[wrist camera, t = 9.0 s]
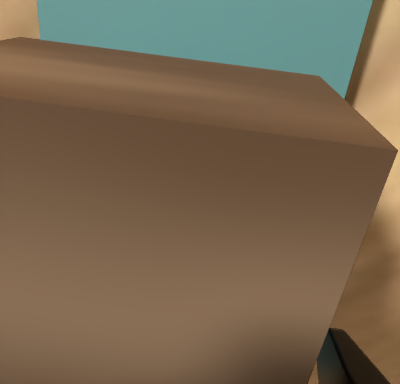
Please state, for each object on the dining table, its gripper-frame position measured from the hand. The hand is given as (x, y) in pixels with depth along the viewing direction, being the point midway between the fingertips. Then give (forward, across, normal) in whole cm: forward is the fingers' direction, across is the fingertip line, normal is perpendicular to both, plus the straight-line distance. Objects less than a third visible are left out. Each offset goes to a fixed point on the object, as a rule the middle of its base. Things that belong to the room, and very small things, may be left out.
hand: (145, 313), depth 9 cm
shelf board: (+1, 0, 0) cm, 1 cm away
